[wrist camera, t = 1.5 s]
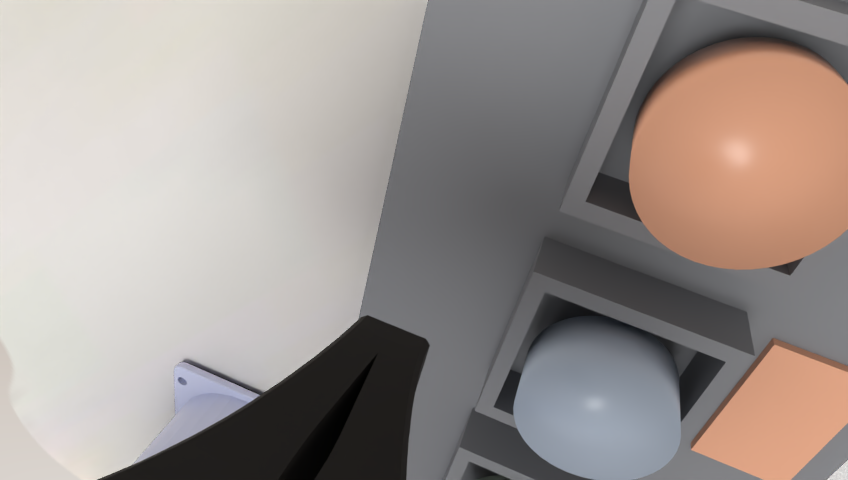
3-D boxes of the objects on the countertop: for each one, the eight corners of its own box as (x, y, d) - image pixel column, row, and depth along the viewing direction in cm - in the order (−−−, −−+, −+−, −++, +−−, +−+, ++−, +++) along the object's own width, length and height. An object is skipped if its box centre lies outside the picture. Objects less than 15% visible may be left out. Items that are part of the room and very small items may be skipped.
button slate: (640, 448, 19) (638, 502, 18) (508, 393, 20) (494, 441, 18) (708, 352, 17) (712, 405, 15) (554, 293, 17) (542, 338, 16)
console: (667, 584, 27) (667, 678, 24) (343, 440, 30) (305, 510, 26) (1239, -11, 12) (1434, 34, 9) (496, -211, 15) (451, -231, 11)
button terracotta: (781, 250, 15) (795, 298, 13) (603, 186, 15) (596, 226, 14) (904, 76, 12) (941, 110, 10) (685, 8, 13) (688, 31, 11)
